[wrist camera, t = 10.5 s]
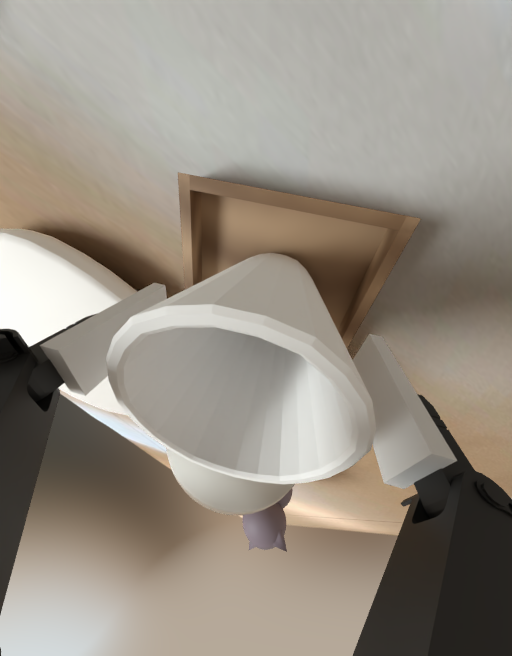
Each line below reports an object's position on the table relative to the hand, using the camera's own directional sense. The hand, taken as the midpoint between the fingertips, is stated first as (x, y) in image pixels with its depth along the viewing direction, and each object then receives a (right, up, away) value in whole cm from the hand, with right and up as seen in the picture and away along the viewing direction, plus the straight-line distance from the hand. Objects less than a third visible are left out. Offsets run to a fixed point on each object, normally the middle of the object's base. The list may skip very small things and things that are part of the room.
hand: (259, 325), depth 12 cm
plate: (-23, 0, +15) cm, 27 cm away
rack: (+1, 0, +8) cm, 8 cm away
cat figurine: (+3, -26, +25) cm, 36 cm away
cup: (+1, +3, +5) cm, 6 cm away
